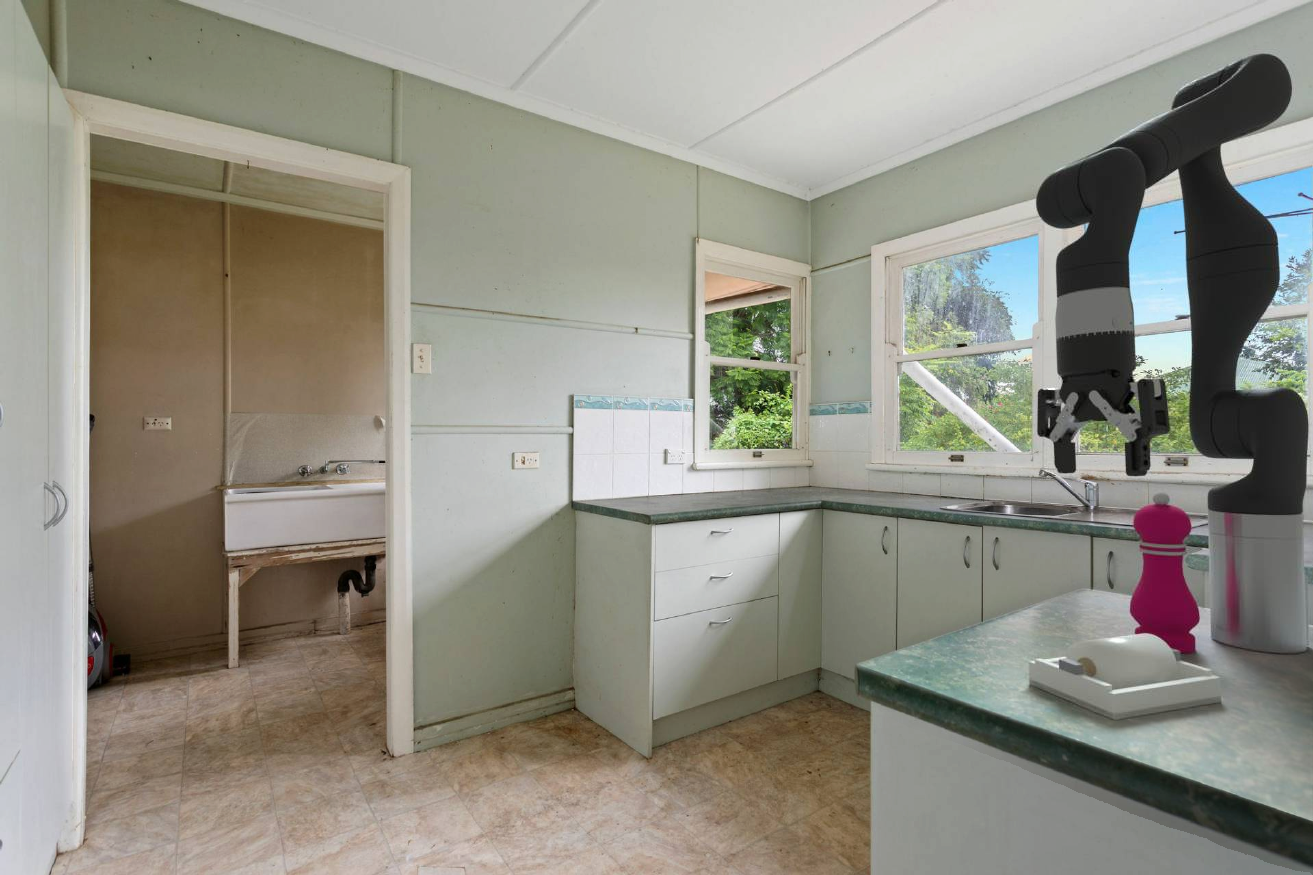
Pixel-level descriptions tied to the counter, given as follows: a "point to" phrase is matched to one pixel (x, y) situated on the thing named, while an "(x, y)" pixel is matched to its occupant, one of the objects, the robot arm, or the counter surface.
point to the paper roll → (1126, 660)
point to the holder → (1098, 696)
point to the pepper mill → (1164, 576)
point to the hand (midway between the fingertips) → (1099, 474)
